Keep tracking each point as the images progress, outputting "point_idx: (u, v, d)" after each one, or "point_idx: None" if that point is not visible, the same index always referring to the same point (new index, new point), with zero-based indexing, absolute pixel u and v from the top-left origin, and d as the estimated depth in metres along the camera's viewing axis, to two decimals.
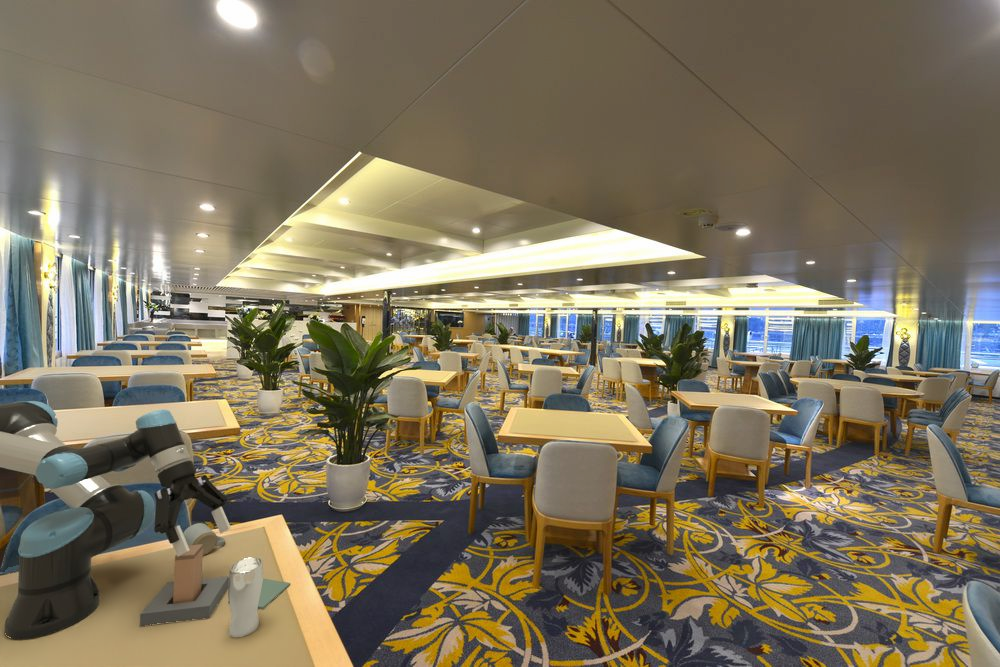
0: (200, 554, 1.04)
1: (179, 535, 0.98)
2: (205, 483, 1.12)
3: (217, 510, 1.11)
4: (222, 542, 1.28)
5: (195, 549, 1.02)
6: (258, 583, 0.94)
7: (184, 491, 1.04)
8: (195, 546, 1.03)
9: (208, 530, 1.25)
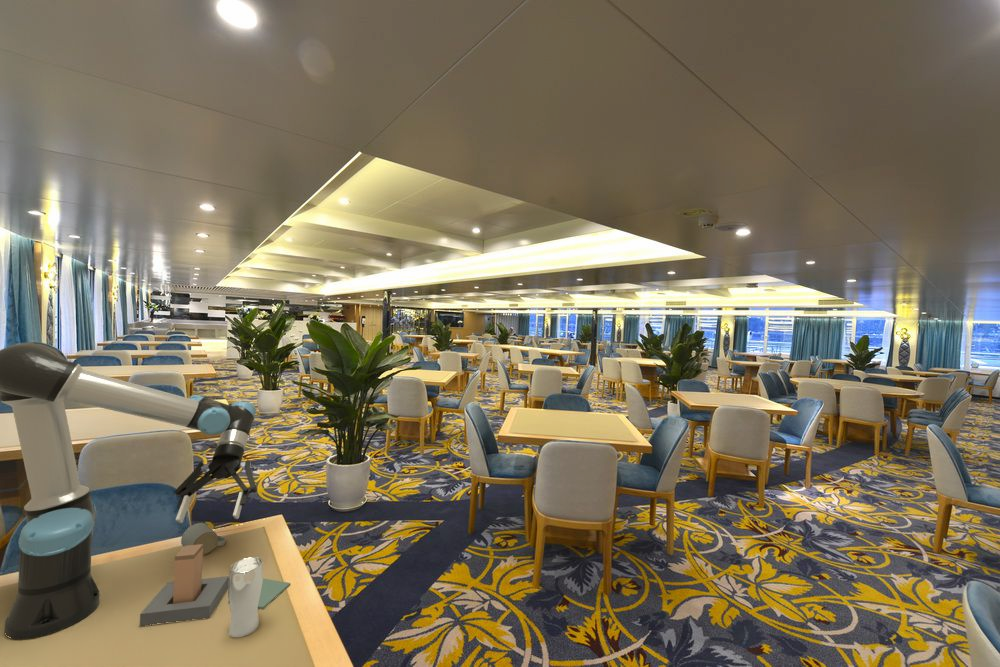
0: (200, 554, 1.03)
1: None
2: (202, 472, 1.20)
3: (189, 499, 1.14)
4: (223, 542, 1.28)
5: (195, 549, 1.02)
6: (258, 583, 0.94)
7: None
8: (195, 546, 1.03)
9: (209, 530, 1.25)
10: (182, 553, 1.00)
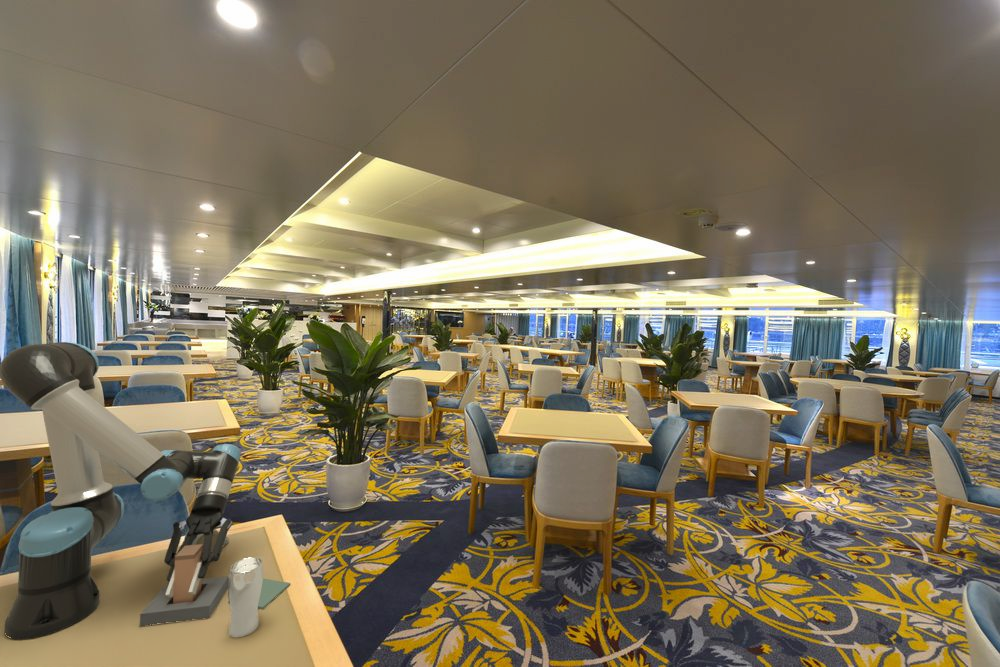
0: (200, 554, 1.04)
1: None
2: (181, 532, 1.08)
3: None
4: (226, 541, 1.29)
5: (195, 549, 1.02)
6: (258, 583, 0.94)
7: None
8: (195, 546, 1.03)
9: None
10: (182, 553, 1.00)
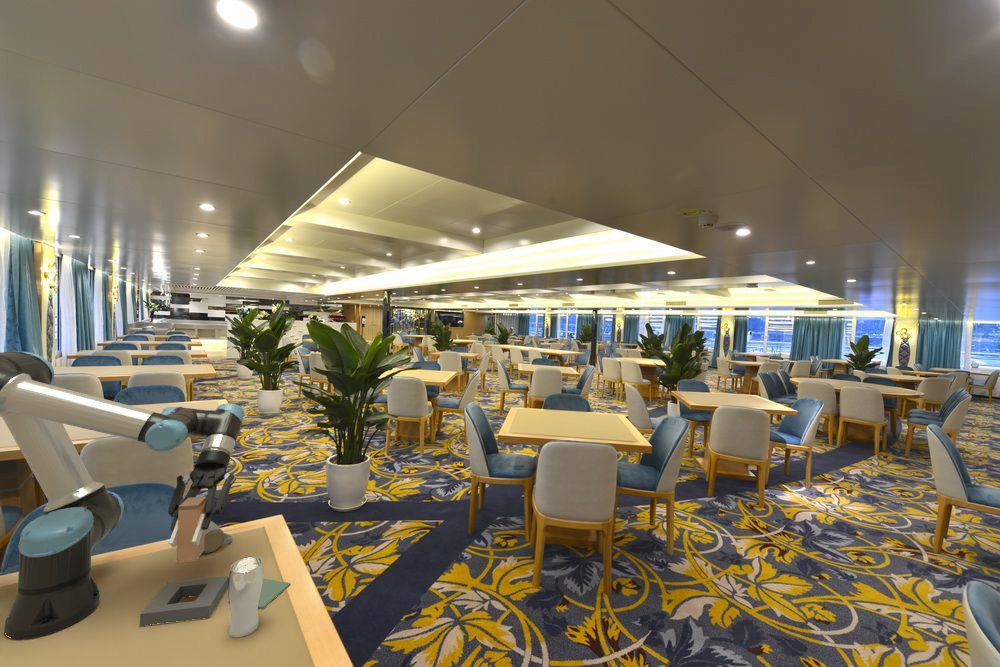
0: (204, 506, 1.04)
1: None
2: (185, 485, 1.08)
3: None
4: (229, 539, 1.30)
5: (199, 500, 1.02)
6: (258, 583, 0.94)
7: None
8: (198, 498, 1.03)
9: (216, 527, 1.27)
10: (186, 503, 1.00)
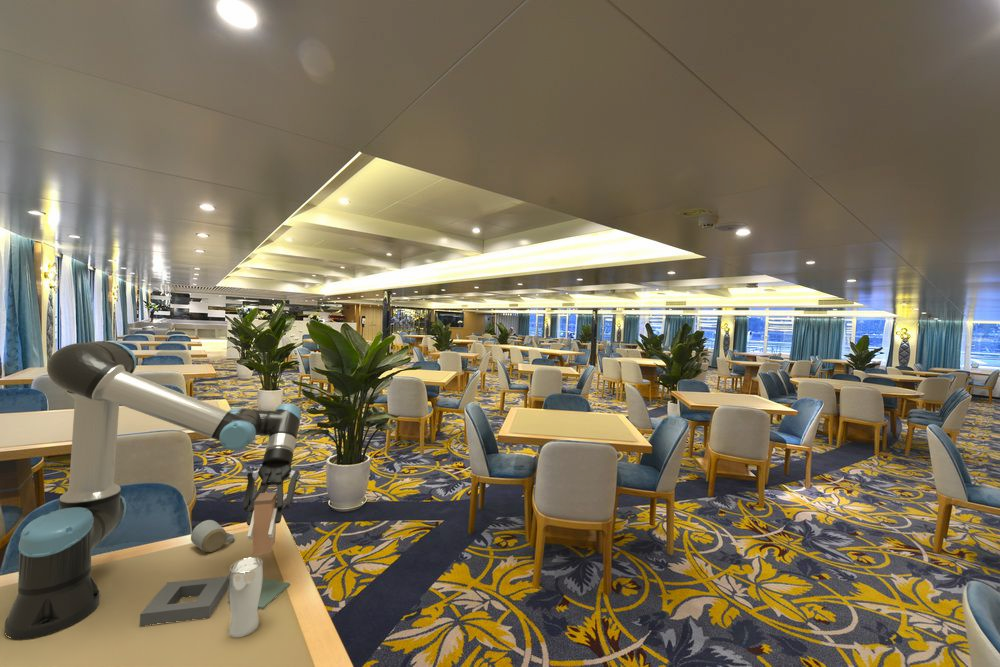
0: (275, 501, 1.09)
1: None
2: (254, 482, 1.13)
3: None
4: (231, 539, 1.30)
5: (271, 496, 1.08)
6: (258, 583, 0.94)
7: None
8: (270, 493, 1.09)
9: (218, 527, 1.27)
10: (260, 498, 1.06)
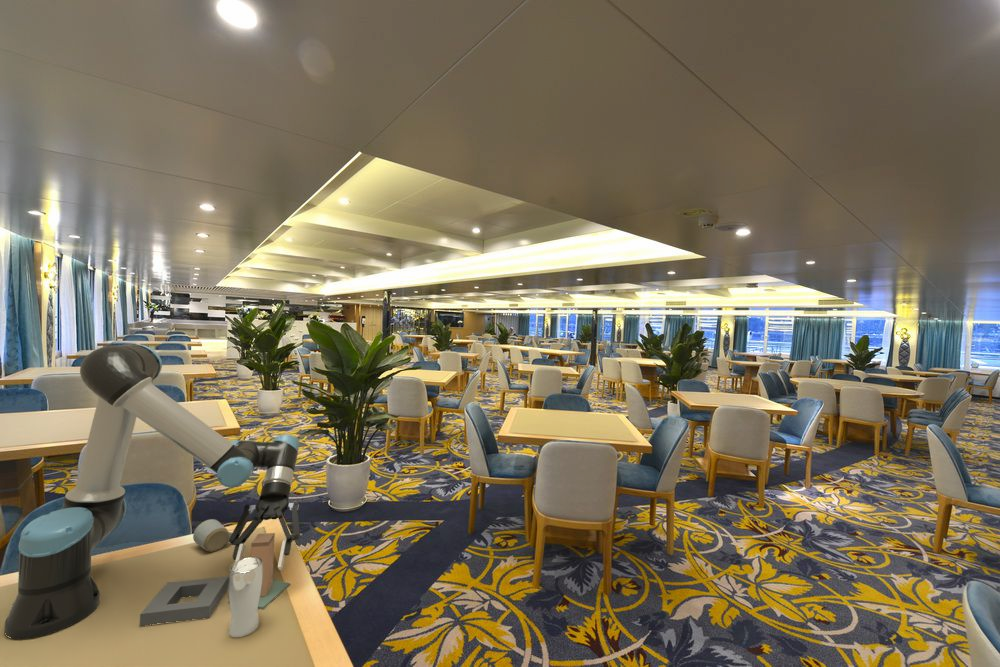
0: (273, 542, 1.09)
1: None
2: (249, 515, 1.13)
3: (244, 547, 1.07)
4: None
5: (268, 537, 1.08)
6: (258, 583, 0.94)
7: None
8: (268, 534, 1.09)
9: (220, 526, 1.28)
10: (257, 540, 1.06)
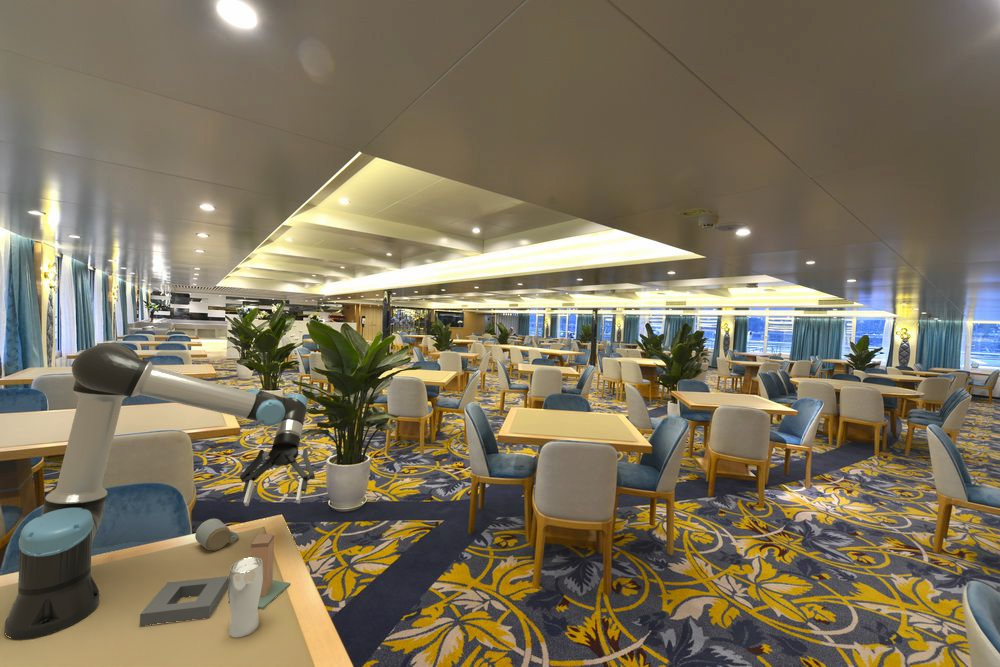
0: (272, 542, 1.09)
1: None
2: (262, 459, 1.26)
3: (253, 484, 1.20)
4: (235, 537, 1.31)
5: (268, 538, 1.08)
6: (258, 583, 0.94)
7: None
8: (267, 535, 1.09)
9: (222, 525, 1.28)
10: (257, 541, 1.06)
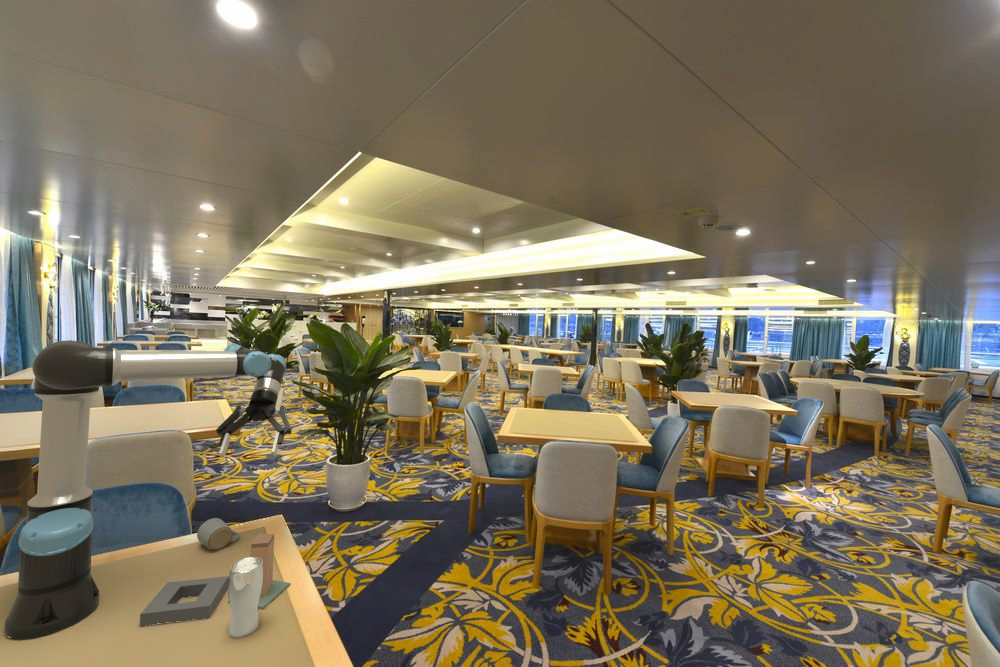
0: (272, 542, 1.09)
1: None
2: (239, 415, 1.28)
3: (229, 437, 1.22)
4: (237, 537, 1.32)
5: (268, 538, 1.08)
6: (258, 583, 0.94)
7: None
8: (267, 535, 1.09)
9: (223, 525, 1.29)
10: (257, 541, 1.06)
